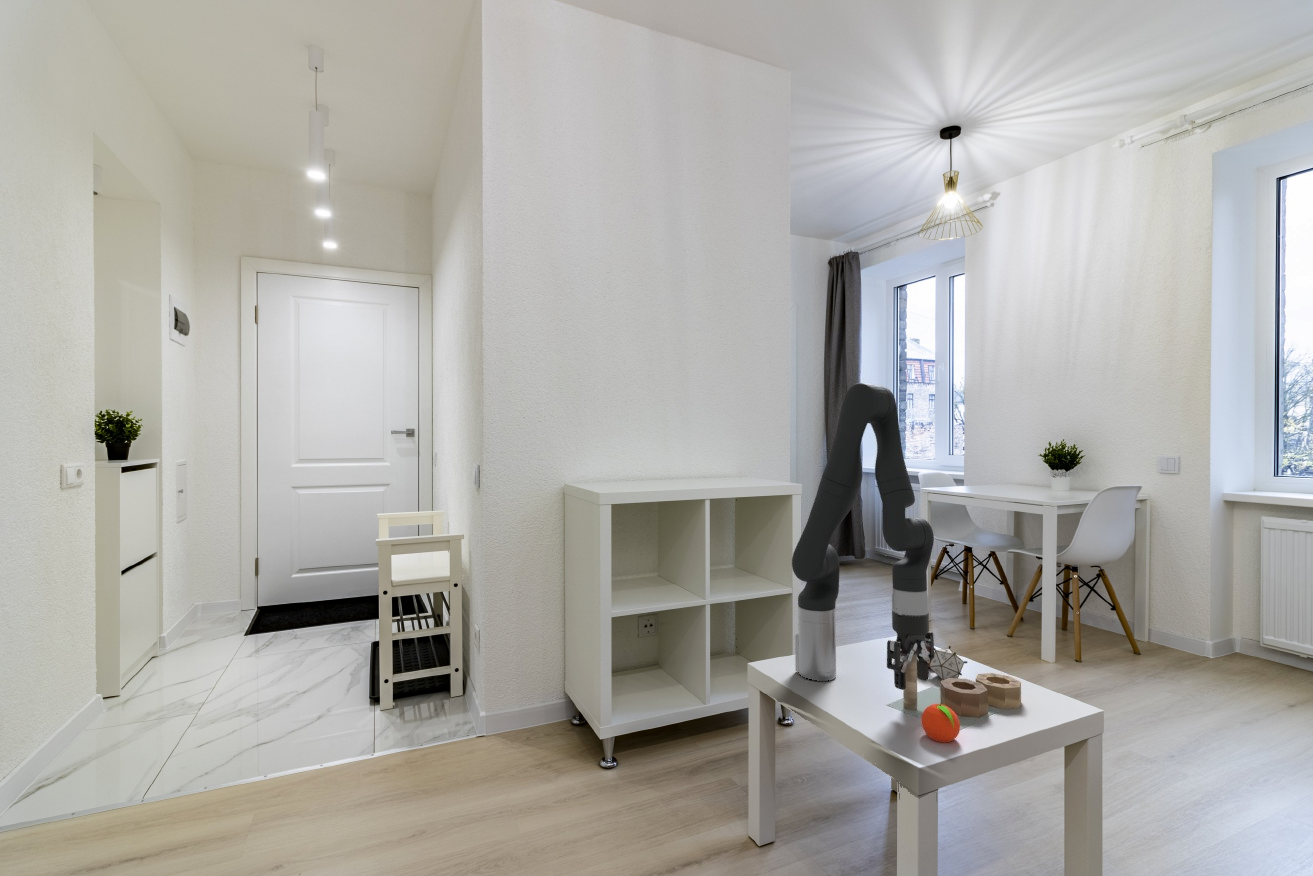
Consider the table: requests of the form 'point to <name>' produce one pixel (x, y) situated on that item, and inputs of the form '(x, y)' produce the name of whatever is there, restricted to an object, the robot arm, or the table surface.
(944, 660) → the game die
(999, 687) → the oak bead
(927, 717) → the clementine
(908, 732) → the table surface
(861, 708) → the table surface
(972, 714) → the walnut bead
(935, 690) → the grey mat
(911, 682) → the birch peg
